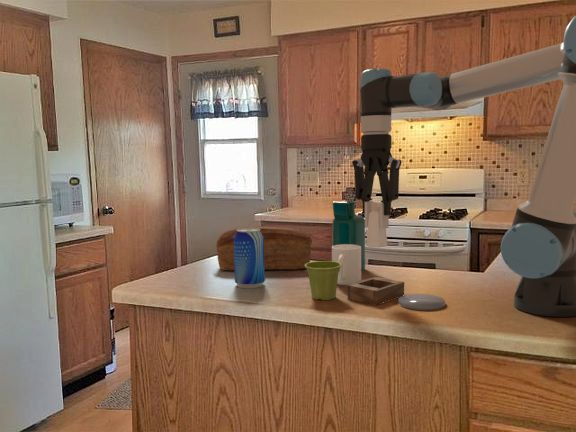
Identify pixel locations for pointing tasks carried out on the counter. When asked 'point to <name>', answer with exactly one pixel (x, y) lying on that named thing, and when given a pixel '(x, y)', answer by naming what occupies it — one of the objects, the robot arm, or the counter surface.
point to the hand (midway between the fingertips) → (376, 227)
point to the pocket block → (375, 290)
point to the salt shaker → (375, 228)
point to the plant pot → (323, 278)
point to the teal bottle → (348, 227)
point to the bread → (270, 248)
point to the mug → (348, 263)
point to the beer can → (249, 258)
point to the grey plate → (421, 302)
